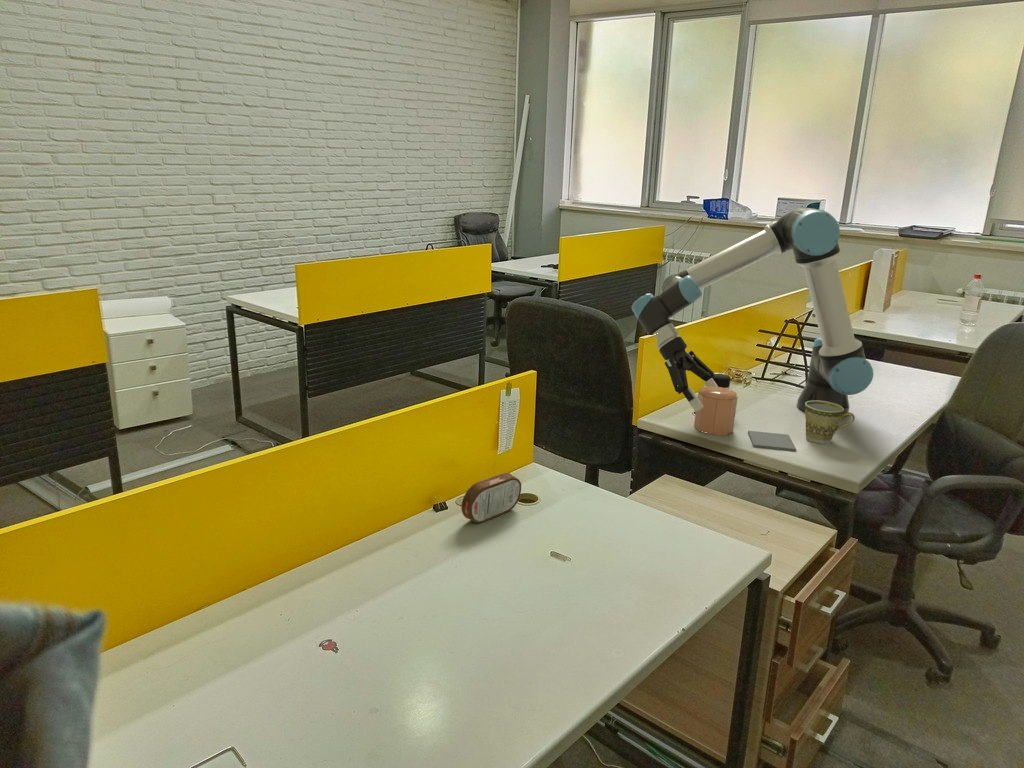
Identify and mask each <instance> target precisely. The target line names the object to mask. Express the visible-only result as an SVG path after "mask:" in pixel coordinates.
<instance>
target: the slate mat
mask: <svg viewBox="0 0 1024 768" xmlns="http://www.w3.org/2000/svg"><path fill="white" fill-rule="evenodd" d="M747 434H748V437H749V440H750V441H751V442H750V443H752V446H753V448H763V449H772V450H780V451H781V450H782V451H791V452H792V451H793V452H797V448H796V446H795V444H794V442H793V440H792V439H791V436H790V435H789V434H787V433H779V432H778V433H776V432H765V431H764V432H763V431H756V430H747Z"/></svg>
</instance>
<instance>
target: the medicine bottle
mask: <svg viewBox="0 0 1024 768" xmlns="http://www.w3.org/2000/svg"><path fill="white" fill-rule="evenodd" d="M714 375H715V376H714V377H712V378H713V380H714V381H715V383H716V384H717V386H718V387H722V388H727V389H730V385H731V380H732V379H731V377H730V376H729V375H728V374H725V373H723V372H722V373H721V372H714ZM704 387H706V385H704Z"/></svg>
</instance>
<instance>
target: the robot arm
mask: <svg viewBox="0 0 1024 768" xmlns="http://www.w3.org/2000/svg"><path fill="white" fill-rule="evenodd" d="M840 234H841V230H840V224H839V223H838V221H837V220H836V218H835V217H834V216H833V215H832V214H830V213H829V212H828V211H825V210H823V209H818V208H811V207H799V208H796V209H794V210H791V211H790V212H787V213H786V214H784V215H782V216H780V217H779V218H777V219H776V220H774V221H772V222H769V223H767V224H766V225H765V227H764V229H763V230H762V231H759V232H757V233H755V234H754V235H752V236H749V237H747V238H745V239H743V240H741V241H739V242H738V243H735V244H734V245H731V246H729V247H728V248H726V249H723V250H722V251H720V252H718V253H716V254H714V255H712V256H710V257H708V258H705V259H704V260H701V261H700V262H698V263H695V264H694V265H692V266H690V267H688V268H686V269H684V270H683V271H679V272H678V273H674V274H669V275H667V276H666V277H665V279H664V280H663V281H662V285H661V288H662V289H661V291H662V292H661V293H659V294H657V295H656V296H655V295H653V294H652V293H650V292H649V293H645V294H644V295H642V296H640V297H639V298H638V299H636V300H635V301H634V302H633V303H632V305H631V311H632V312H633V313H634V316H635V317H636V319H637V321H638V323H639V324H640V325H641V327H642V329H643V330H644V331H645V332H646V334H647V336H649V335H654V334H656V335H654V336H657V337H656V338H657V347H658V348H657V347H656V348H657V349H659V350H658V353H660V355H661V357H662V358H663V360H664V366H665V367H666V368H667V372H668V374H669V377H670V379H671V382H672V385H673V389H674V391H675V392H676V393H677V394H679V395H680V394H681V393H682V394H683V396H684V397H685V399H686V401H687V402H688V403H689V405H690V406H691V408H692V409H693V411H694V413H696V412H697V411H698V410H700V409H701V408H703V407H704V406H703V405H702V403H701V402H700V400H699V399H698V395H696V393H695V391H694V390H693V388H692V387H691V386H690V387H689V384H688V377H687V372H691V373H693V374H694V375H695V376H697V377H698V378H700V379H701V380H702V381H704V382H703V384H704V386H706V387H718V386H717V384H716V383H715V381H714V380H713V378H712V377H714V376H715V375H714V373H715V372H714V371H713V370H712V369H711V368H710V367H708V366H707V365H706V364H705V363H704V362H703V361H702V360H701V359H700V358H699V357H698V355H696V354H695V352H694V351H693V350H690V351H688V352H687V351H686V349H687V347H688V345H687V343H686V341H684V339H683V338H682V336H680V333H679V332H678V330H677V328H676V327H675V326H674V324H673V323H672V321H671V320H670V318H672V317H673V316H675V315H676V314H678V313H679V312H681V311H682V310H685V309H686V308H687V307H689V306H690V305H692V304H694V303H695V302H696V301H698V299H700V298H701V297H702V295H703V292H702V289H705V288H707V287H708V286H710V285H713V284H715V283H716V282H718V281H721V280H723V279H725V278H726V277H729V276H732V275H733V274H735V273H737V272H739V271H740V270H743V269H745V268H746V267H749V266H751V265H753V264H755V263H758V262H760V261H762V260H764V259H766V258H767V257H769V256H772V255H774V254H778V255H781V254H783V253H785V252H789V251H793V258H794V259H795V263H796V265H798V266H800V267H802V268H803V271H804V275H805V280H806V283H807V288H808V292H809V296H810V301H811V303H812V307H813V311H814V316H815V320H816V323H817V327H818V331H819V337H817V338H815V339H814V342H813V345H812V347H811V349H812V350H811V357H810V361H809V368H808V374H807V380H806V383H805V385H804V387H803V389H802V391H801V393H800V394H799V396H798V398H797V402H796V406H797V408H798V410H801V411H802V412H805V403H806V402H807V401H811V400H820V401H827V402H832V403H835V404H838V405H840V406H842V407H843V408H844V411H843V413H846V412H849V411H850V402H849V397H848V396H853V395H857V394H860V393H862V392H864V391H865V390H866V389H867V388H868V387H869V386H870V385H871V384H872V381H873V378H874V369H873V367H872V365H871V363H870V362H869V360H867V358H866V355H865V350H864V346H863V342H862V341H861V340H859V339H857V338H855V334H854V330H853V326H852V320H851V317H850V313H849V312H850V311H849V309H848V304H847V301H846V296H845V292H844V288H843V284H842V279H841V276H840V271H839V267H838V266H839V265H838V263H837V257H838V256H839V255H840V253H841V250H840V245H839V240H840V236H841V235H840ZM657 333H658V334H657ZM651 337H653V336H651ZM686 371H687V372H686Z"/></svg>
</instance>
